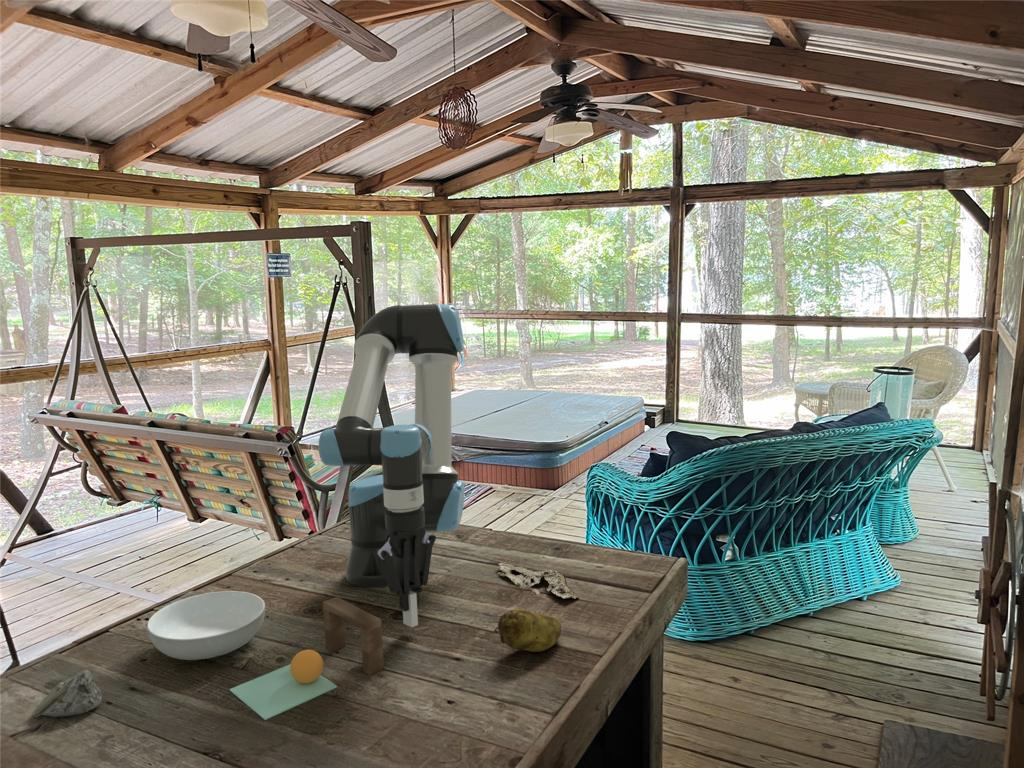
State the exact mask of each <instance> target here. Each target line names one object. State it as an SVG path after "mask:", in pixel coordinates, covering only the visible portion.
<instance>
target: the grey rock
mask: <svg viewBox="0 0 1024 768" xmlns="http://www.w3.org/2000/svg"><path fill="white" fill-rule="evenodd" d="M101 703H102V691H101V689H100V687H99V686H98V685H96V682H95V681H94V680H93V676H92V673H91V672H90V670H88V669H83V670H80V672H77V673H76V674H75V675H72V676H71V677H70V678H68V679H66V680H65V681H63V682H62V681H61V682H59V683H57V685H56V686H54V687H53V688H52V689H51V691H49V693H48V694H47V695H46V696H45V697H44V698H43V699H42V701H41V702H39V704H38V705H37V707H36V708H35V710H34V712H33V714H32V715H33V716H34V718H38V717H40V716H42V715H43V716H47V717H57V718H59V717H60V718H62V717H71V716H72V717H73V716H76V715H80V714H84V713H86V712H89V711H92V710H93V709H95V708H97V707H99V705H101Z"/></svg>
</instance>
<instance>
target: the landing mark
mask: <svg viewBox="0 0 1024 768" xmlns="http://www.w3.org/2000/svg"><path fill="white" fill-rule="evenodd" d="M290 666H291V663H290V664H287V665H285V666H283V667H280V668H278V669H275V670H273V671H271V672H269V673H265V674H263V675H261V676H258V677H256V678H254V679H251V680H249V681H248V680H247V681H246V682H243V683H241V684H238V685H236V686H234V687H231V688H229V690H228V691H229V692H231V693H232V694H233V695H235V697H236V698H238V699H239V700H240V701H242V702H243V703H244V704H245V705H246V706H248V707H249V708H250V709H251V711H254V712H255V713H256V714H257V715H258V716H259V717H260V718H262V719H263V720H264V721H266V720H268V719H271V718H273V717H276V716H277V715H280V714H282V713H284V712H286V711H288V710H291V709H293V708H295V707H298V706H300V705H302V704H304V703H307V702H308V701H311V700H313V699H314V698H318V697H320V696H321V695H323V694H326V693H328V692H330V691H332V690H334V689H337V688H338V685H336V684H335V683H333V682H331V680H329V679H327V678H326V677H324V676H323V675H320V676H319V678H318V679H317V680H315V681H314V682H312V683H308V684H302V683H299V682H297V681H296V680H295V679H294V678H293V677H292V674H291V670H290Z"/></svg>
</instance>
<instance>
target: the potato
mask: <svg viewBox="0 0 1024 768" xmlns="http://www.w3.org/2000/svg"><path fill="white" fill-rule="evenodd" d="M497 630H498V633H499V637H500V642H501V643H502V644H506V646H508V647H509V648H511V649H512V650H520V651H528V652H531V653H538V652H543V651H547V650H548V649H550V648H553V646H554V645H555V644H556V643H557V642H558V641H559V639H560V637H561V632H562V625H561V622H560V621H559V619H558V618H556V617H554V616H552V615H549V614H545V613H540V612H539V613H537V612H533V611H530V610H528V609H525V608H524V609H523V608H515V609H512V610H509V611H507V612H504V613H503V614H502V615H500V617H499V619H498V622H497Z"/></svg>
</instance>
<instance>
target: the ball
mask: <svg viewBox="0 0 1024 768" xmlns="http://www.w3.org/2000/svg"><path fill="white" fill-rule="evenodd" d="M290 664H291V666H290V670H291V674H292V677H293V678H294V679H295V680H296V681H297V682H299V683H302V684H308V683H312V682H314V681H315V680H317V679H318V678H319V676H320V675H321V674H323V671H324V659H323V657H322V656H321V655H320V654H319V653H318V651H316V650H313V649H304V650H301V651H299V652H298V653H296V655H295V656H293V658H292V660H291V663H290ZM321 676H322V675H321Z"/></svg>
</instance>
